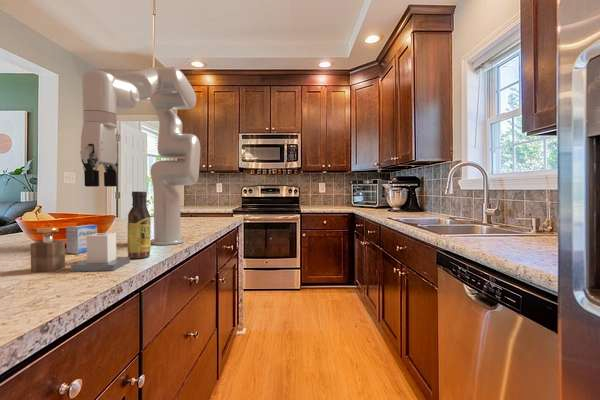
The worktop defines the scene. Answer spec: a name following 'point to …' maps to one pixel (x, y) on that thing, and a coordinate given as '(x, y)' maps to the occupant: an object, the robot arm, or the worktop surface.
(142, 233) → the sauce bottle
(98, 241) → the block
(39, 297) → the worktop surface
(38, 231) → the press pin
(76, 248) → the medicine box
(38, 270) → the brown block
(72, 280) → the worktop surface
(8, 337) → the worktop surface
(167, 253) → the worktop surface
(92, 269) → the plate
